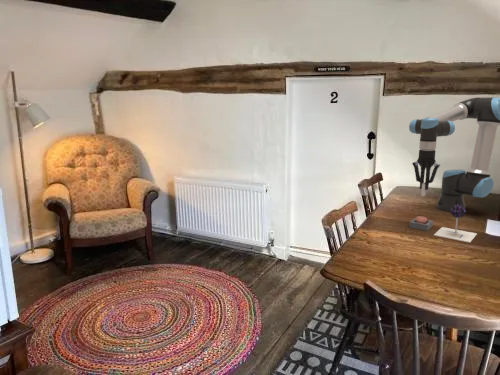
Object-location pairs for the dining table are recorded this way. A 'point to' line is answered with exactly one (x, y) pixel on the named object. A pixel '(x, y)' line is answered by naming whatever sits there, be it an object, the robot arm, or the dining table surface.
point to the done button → (421, 219)
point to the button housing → (420, 225)
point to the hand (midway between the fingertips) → (423, 195)
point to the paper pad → (458, 236)
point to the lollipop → (457, 213)
